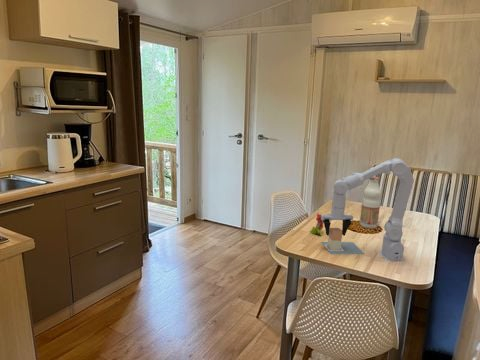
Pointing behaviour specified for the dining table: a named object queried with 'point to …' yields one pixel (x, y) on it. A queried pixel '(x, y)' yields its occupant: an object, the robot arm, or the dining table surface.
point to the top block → (335, 234)
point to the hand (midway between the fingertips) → (335, 234)
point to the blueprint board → (344, 248)
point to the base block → (334, 244)
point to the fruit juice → (371, 204)
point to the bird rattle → (317, 226)
